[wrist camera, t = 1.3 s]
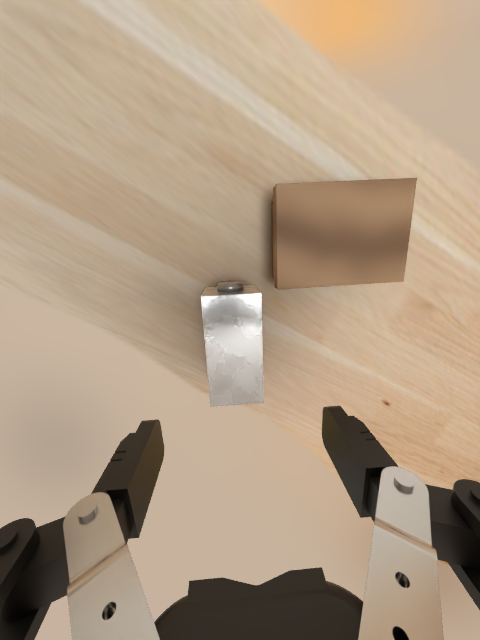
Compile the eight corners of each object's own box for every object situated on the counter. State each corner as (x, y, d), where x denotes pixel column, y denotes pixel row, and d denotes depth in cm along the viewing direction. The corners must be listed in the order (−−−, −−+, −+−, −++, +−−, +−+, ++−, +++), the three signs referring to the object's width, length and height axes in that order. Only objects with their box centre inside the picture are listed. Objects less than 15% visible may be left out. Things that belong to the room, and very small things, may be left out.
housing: (205, 280, 24) (199, 289, 19) (253, 278, 24) (261, 285, 19) (213, 381, 27) (211, 412, 22) (256, 378, 27) (263, 408, 22)
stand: (267, 195, 22) (276, 184, 18) (384, 190, 23) (416, 177, 19) (269, 283, 24) (277, 289, 20) (375, 276, 25) (403, 281, 21)
